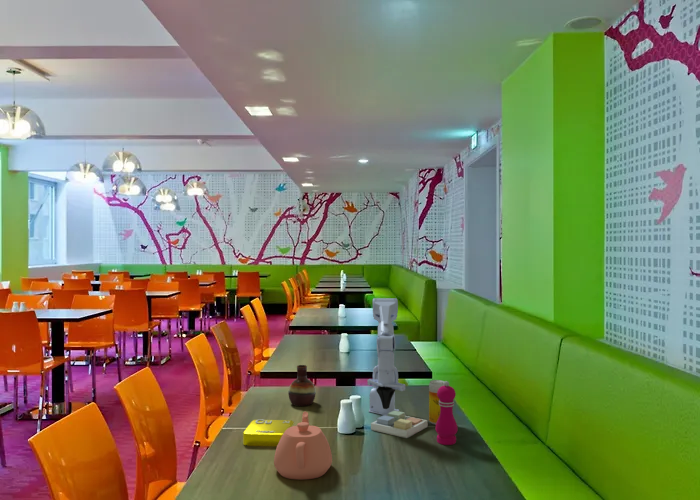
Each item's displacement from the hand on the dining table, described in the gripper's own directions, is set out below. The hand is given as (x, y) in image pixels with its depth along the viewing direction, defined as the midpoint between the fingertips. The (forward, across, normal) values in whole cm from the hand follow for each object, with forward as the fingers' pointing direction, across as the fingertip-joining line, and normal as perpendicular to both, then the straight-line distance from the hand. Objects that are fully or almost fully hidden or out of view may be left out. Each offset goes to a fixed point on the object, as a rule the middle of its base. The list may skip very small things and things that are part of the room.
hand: (386, 408), depth 199 cm
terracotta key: (+7, +7, +7) cm, 12 cm away
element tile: (+8, -27, -30) cm, 42 cm away
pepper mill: (+8, +23, +1) cm, 24 cm away
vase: (+8, -45, +7) cm, 46 cm away
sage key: (+6, 0, +7) cm, 9 cm away
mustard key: (+6, +7, 0) cm, 9 cm away
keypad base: (+7, +3, +3) cm, 9 cm away
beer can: (+8, +11, +17) cm, 22 cm away
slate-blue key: (+6, 0, 0) cm, 6 cm away
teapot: (+8, -1, -43) cm, 44 cm away
